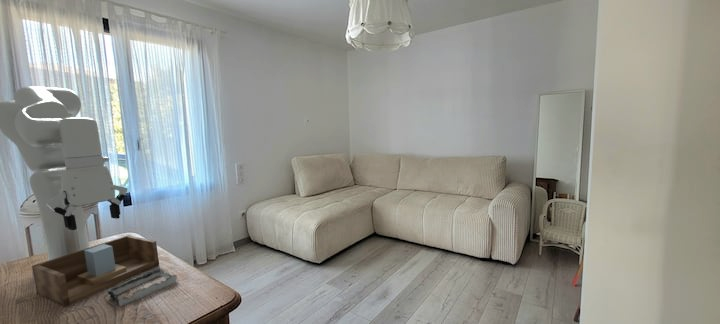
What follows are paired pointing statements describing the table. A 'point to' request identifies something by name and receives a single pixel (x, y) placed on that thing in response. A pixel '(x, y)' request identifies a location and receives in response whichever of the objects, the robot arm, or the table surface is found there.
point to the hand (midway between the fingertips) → (95, 223)
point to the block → (100, 259)
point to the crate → (73, 283)
